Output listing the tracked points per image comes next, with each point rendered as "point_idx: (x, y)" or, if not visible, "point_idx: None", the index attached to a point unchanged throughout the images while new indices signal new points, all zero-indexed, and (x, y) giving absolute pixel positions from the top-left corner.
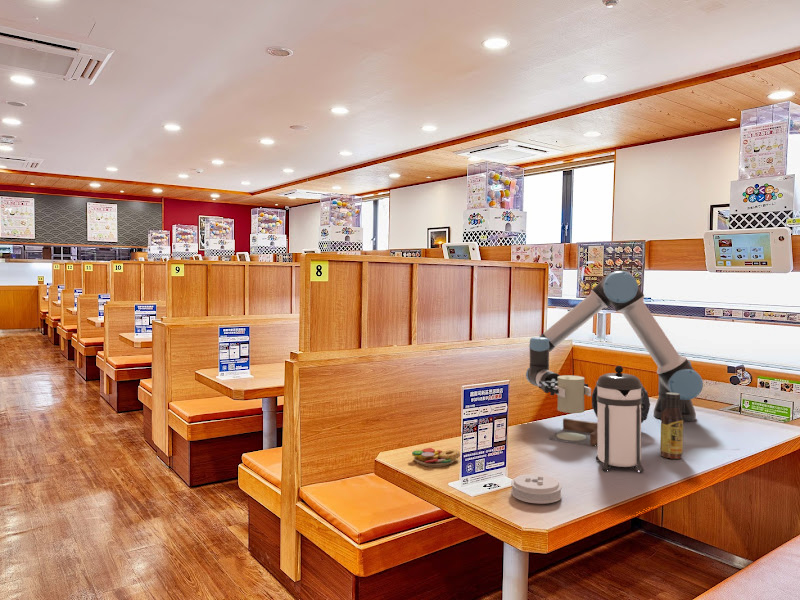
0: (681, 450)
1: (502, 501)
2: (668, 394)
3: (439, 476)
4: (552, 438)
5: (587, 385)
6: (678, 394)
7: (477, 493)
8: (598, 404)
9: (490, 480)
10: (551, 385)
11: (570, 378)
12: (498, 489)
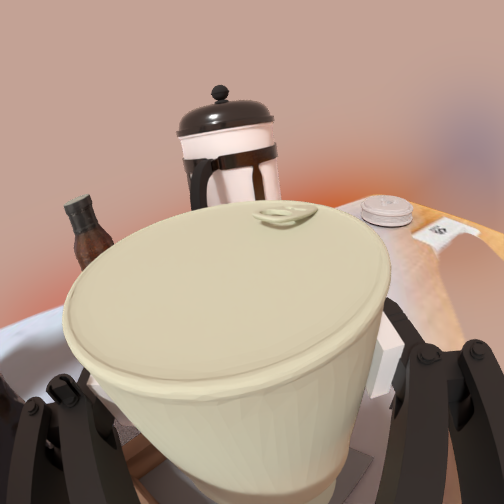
0: None
1: (415, 212)
2: (89, 195)
3: (497, 241)
4: (359, 452)
5: (39, 401)
6: (77, 197)
7: (442, 219)
8: (276, 162)
9: (445, 237)
10: (439, 384)
11: (241, 233)
12: (427, 225)
